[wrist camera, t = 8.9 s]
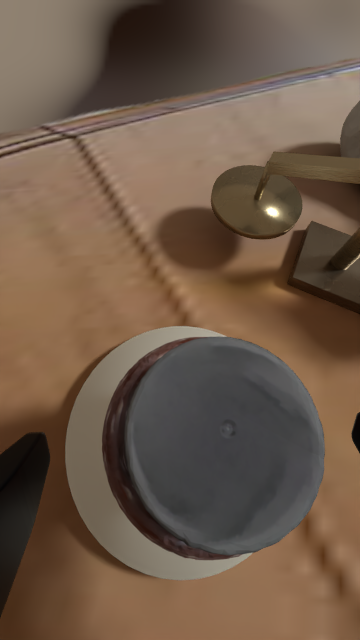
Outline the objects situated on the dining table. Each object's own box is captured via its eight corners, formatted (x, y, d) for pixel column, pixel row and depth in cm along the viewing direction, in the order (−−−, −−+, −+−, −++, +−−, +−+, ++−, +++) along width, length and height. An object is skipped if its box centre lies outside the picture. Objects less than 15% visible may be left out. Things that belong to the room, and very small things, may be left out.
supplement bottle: (155, 367, 17) (148, 257, 7) (248, 404, 17) (391, 344, 6) (112, 471, 15) (0, 540, 4) (218, 517, 14) (368, 715, 4)
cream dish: (250, 624, 14) (256, 638, 13) (22, 498, 15) (13, 501, 14) (311, 380, 19) (319, 377, 18) (136, 303, 20) (135, 296, 19)
